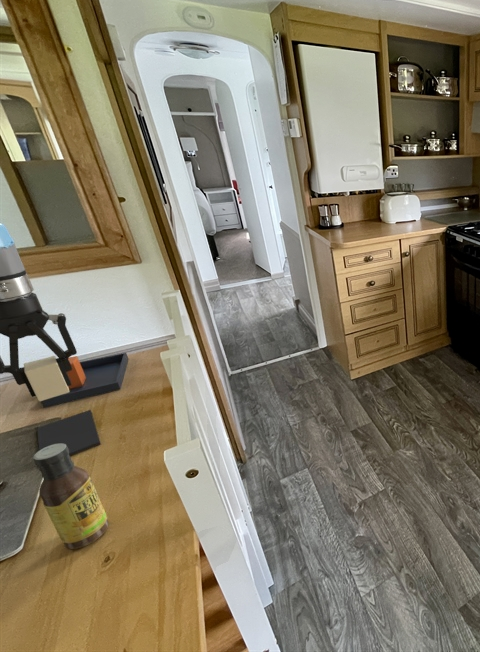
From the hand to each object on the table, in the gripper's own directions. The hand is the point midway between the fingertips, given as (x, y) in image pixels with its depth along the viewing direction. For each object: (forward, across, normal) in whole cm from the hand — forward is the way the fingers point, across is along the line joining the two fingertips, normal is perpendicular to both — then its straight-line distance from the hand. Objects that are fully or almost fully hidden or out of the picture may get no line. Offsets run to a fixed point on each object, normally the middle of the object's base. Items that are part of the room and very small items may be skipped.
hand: (51, 388), depth 88 cm
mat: (+15, -1, +2) cm, 15 cm away
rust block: (+14, +2, +31) cm, 34 cm away
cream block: (+1, 0, 0) cm, 1 cm away
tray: (+15, +6, +30) cm, 34 cm away
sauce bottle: (+15, -1, -37) cm, 40 cm away
